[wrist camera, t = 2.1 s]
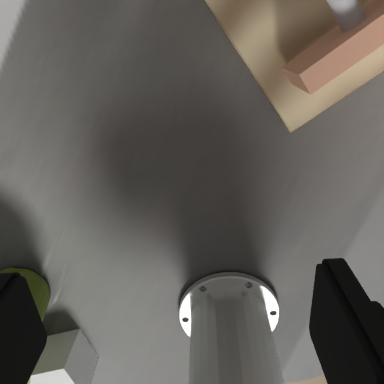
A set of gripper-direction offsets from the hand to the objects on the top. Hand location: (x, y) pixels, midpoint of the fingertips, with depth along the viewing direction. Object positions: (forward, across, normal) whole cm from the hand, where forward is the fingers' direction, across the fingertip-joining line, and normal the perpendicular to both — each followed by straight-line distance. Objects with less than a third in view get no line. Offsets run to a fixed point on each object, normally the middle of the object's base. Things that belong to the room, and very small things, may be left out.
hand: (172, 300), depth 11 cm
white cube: (+24, +19, +31) cm, 43 cm away
